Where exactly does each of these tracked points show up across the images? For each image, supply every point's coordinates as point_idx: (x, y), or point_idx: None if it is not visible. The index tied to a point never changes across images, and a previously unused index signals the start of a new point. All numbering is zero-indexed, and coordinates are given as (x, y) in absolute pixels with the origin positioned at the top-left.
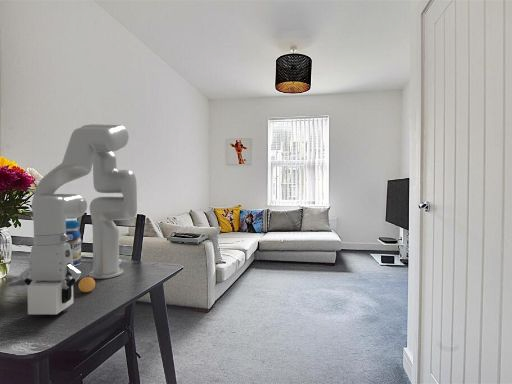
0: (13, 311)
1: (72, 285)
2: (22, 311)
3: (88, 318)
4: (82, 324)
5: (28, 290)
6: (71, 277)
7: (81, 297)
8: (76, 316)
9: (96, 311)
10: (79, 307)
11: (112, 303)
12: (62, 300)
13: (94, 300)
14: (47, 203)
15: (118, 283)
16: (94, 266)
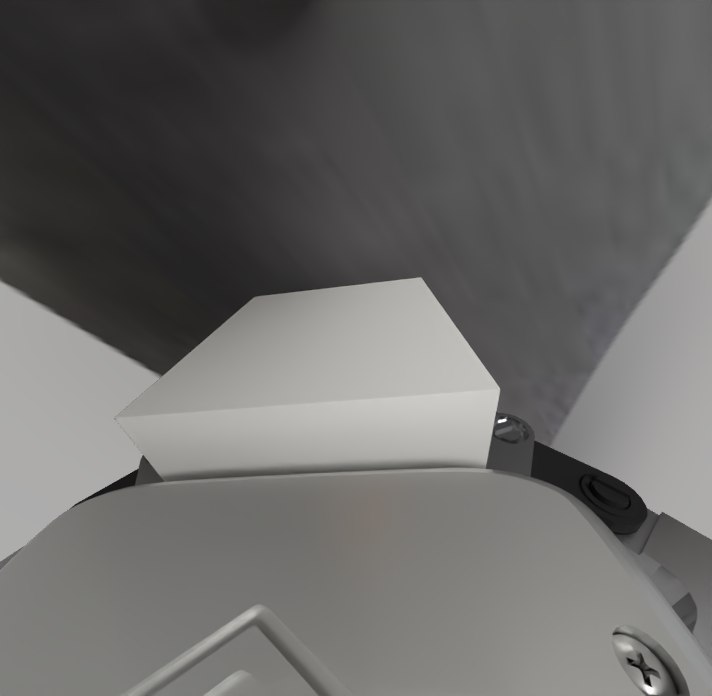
0: (142, 338)
1: (516, 427)
2: (182, 334)
3: (555, 366)
4: (548, 411)
5: None
6: (490, 410)
7: (332, 20)
8: (486, 354)
9: (572, 291)
10: (442, 249)
11: (664, 138)
12: None
13: (490, 88)
14: None
15: None
16: None
